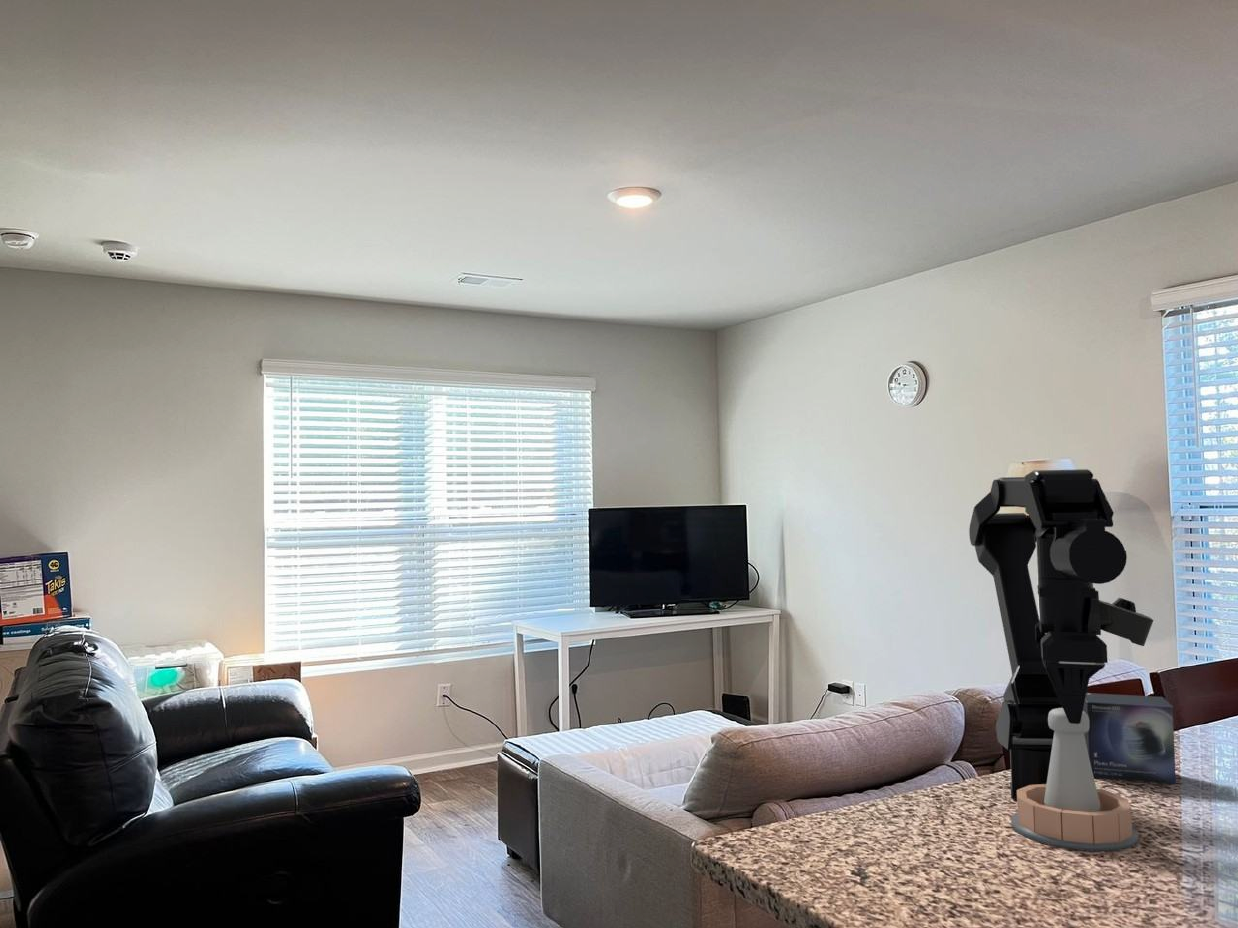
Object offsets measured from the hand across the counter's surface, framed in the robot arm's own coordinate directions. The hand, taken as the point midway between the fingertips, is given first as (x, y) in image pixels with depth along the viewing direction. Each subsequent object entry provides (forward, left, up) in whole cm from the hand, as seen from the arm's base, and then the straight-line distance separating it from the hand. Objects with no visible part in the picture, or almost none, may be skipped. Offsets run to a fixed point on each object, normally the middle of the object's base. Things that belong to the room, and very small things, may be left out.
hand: (1071, 714), depth 105 cm
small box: (+9, +27, -13) cm, 31 cm away
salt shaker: (0, 0, -13) cm, 13 cm away
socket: (0, 0, -13) cm, 13 cm away
